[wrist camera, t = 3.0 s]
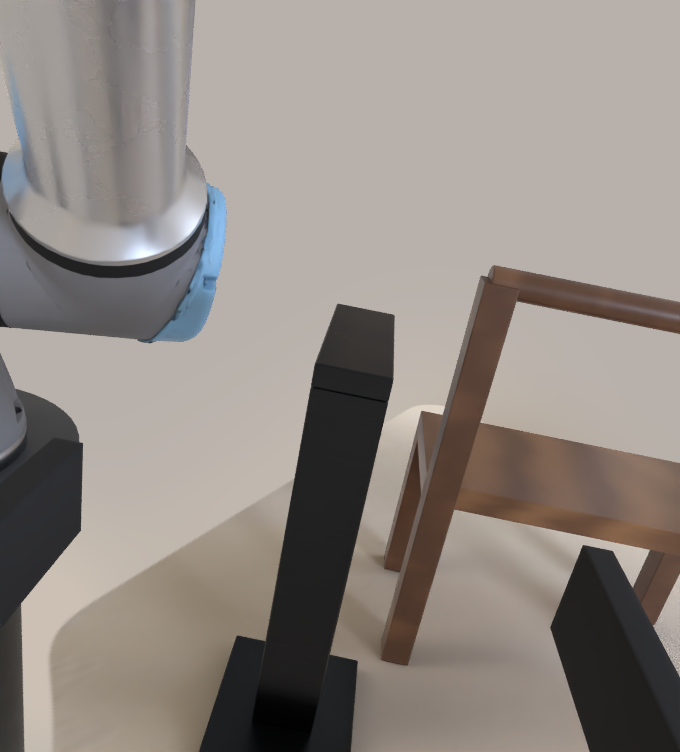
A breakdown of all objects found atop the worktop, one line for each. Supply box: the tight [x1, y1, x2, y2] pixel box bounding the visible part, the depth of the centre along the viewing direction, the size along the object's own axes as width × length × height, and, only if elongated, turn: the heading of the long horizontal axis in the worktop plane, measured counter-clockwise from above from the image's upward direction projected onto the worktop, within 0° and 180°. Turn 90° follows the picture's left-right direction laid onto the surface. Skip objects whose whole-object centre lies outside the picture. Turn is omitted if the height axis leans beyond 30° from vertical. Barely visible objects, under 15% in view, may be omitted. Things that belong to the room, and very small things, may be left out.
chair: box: [381, 265, 680, 665], centre depth 36 cm, size 20×10×24 cm, turn 85°
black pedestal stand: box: [199, 304, 395, 752], centre depth 30 cm, size 11×7×20 cm, turn 175°
